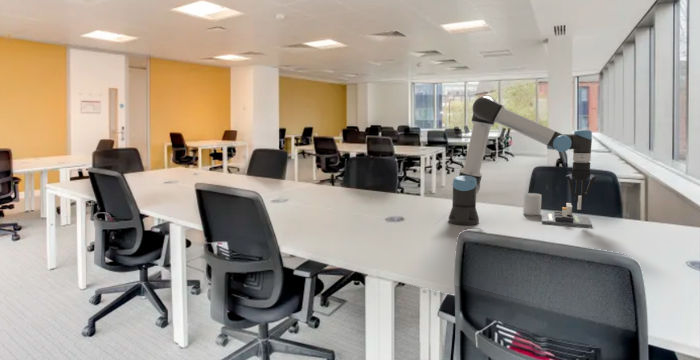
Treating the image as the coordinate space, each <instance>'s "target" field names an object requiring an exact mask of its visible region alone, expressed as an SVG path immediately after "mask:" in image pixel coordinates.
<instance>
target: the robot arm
mask: <svg viewBox="0 0 700 360" xmlns="http://www.w3.org/2000/svg"><path fill="white" fill-rule="evenodd" d="M472 104H473V105H472V116H471V123H472V124H473V126H472V130H471V134H470V139H469V145H468V148H467V153H466V156H465V161H464V165H463V168H462V169H461V170H459V173H458V174H459V175H458V176H456V177H454V178H453V179H452V206H451V210H450V213H449V215H448V222H449V223H450V224H452V225H458V226H459V225H460V226H474V225H475V226H476V225H478V224H479V223H480V218H479V214H478V211H477V207H476V205H477V194H478V193H479V191H480V188H481V180H482V177H483V175H482V173H481V169H482V165H483V159H484V155H485V151H486V148H487V147H486V146H487V142H488V140H489V139H488V138H489V135H490V131H491V128H492V127H494V126H495V124H499V125H501V126H503V127H505V128H509V129H510V130H511V131H514V132H516V133H519V134H521V135H523V136H525V137H528V138H530V139H532V140H534V141H536V142H538V143H541V144H543V145H544V146H546V149H547V150H555V151H557V152H561V153H563V152H564V153H565V152H566V151H568V150H573V152H572V153H573V154H572V155H573V156H572V161H573V162H572V168H571V169H572V171H571V172H570V174H568V175H566V176H565V177H566V179H567V180H568V184H569V188H570V194H571V195H572V196H574V199H575V200H574V202H575V203H577V204H576V206H577V207H576V209H577V210H582V204H584V202H585V197H588V196H589V194H590V192H591V188H592V186H593V183H594V181H595V180H596V178H597V177H596V175H594V174H592V172H591V159H592V158H591V155H592V143H593V142H592V141H593V138H592V137H593V132H592V130H590V129H575V130H574V132H573V133H569V134H566V133H561V132H558V131H556V130H554V129H551V128H549V127H547V126H545V125H543V124H540V123H538V122H536V121H534V120H531V119H529V118H528V117H525V116H523V115H520V114H518V113H516V112H514V111H511V110H509V109H507V108H505V105H504V104H502V103H499V102H497V100H496V99H495V98H493V97H490V96H487V95H485V96H483V95H482V96H480V97H478V98H477V99H476V100H475V101H474V102H473V103H472ZM572 177H573V178H574V180H575V189H574V186H573V181H572ZM587 179H589V182H588V185H587V188H586V180H587ZM580 181H581V188H580ZM580 189H581V191H579V190H580ZM585 189H586V191H585ZM579 192H581V193H580V195H579Z"/></svg>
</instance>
